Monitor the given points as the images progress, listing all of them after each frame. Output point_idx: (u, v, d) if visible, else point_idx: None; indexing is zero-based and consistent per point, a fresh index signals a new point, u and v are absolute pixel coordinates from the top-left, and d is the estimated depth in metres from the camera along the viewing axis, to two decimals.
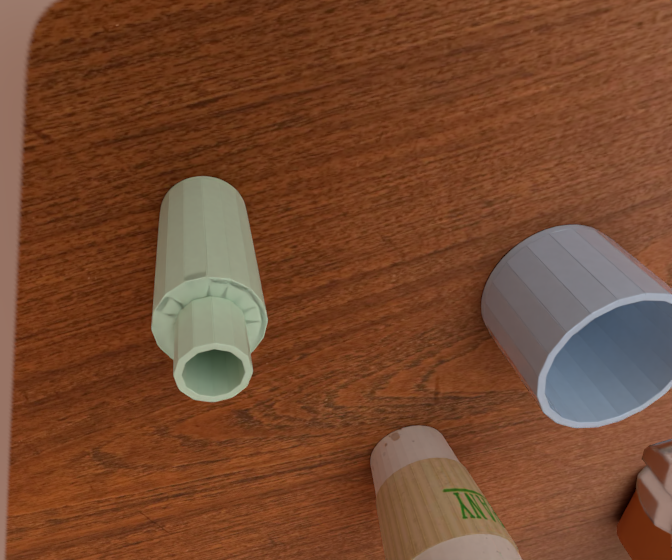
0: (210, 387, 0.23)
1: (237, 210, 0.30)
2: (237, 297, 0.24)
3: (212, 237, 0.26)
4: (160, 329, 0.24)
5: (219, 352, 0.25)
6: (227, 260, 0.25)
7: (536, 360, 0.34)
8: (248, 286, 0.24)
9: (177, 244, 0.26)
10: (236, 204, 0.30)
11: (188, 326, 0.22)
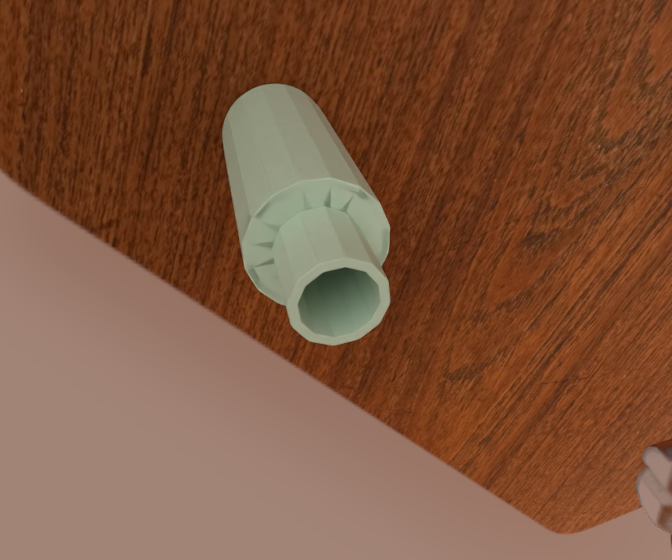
0: (366, 310, 0.17)
1: (269, 105, 0.23)
2: (301, 201, 0.17)
3: (247, 166, 0.20)
4: None
5: None
6: (265, 176, 0.18)
7: None
8: (297, 181, 0.17)
9: (234, 205, 0.21)
10: (267, 100, 0.23)
11: None
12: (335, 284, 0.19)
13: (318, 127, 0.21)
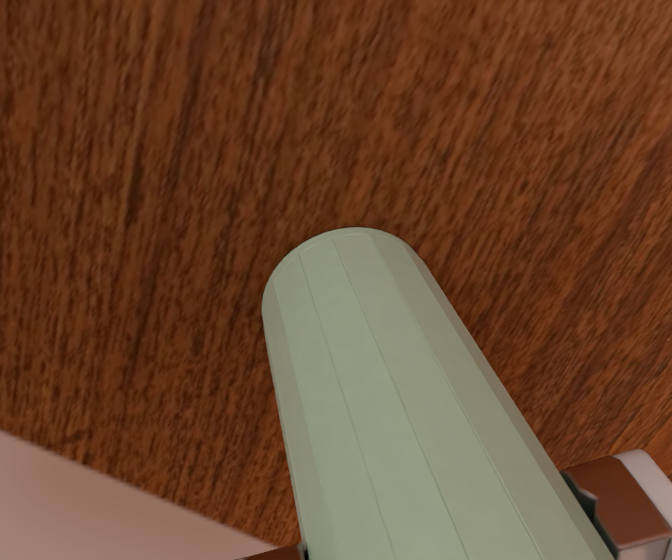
0: None
1: (356, 295, 0.13)
2: None
3: (335, 475, 0.10)
4: None
5: None
6: None
7: None
8: None
9: (302, 531, 0.10)
10: (349, 277, 0.13)
11: None
12: None
13: (461, 360, 0.11)
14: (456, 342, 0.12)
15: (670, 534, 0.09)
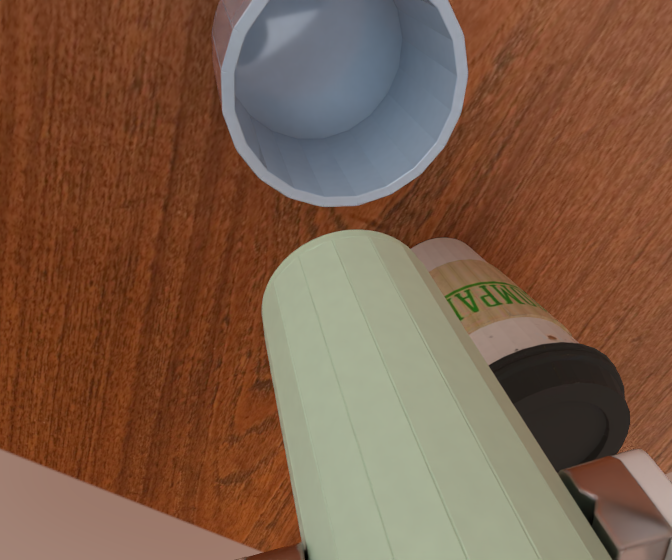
0: None
1: (356, 297, 0.13)
2: None
3: (335, 478, 0.10)
4: None
5: None
6: None
7: None
8: None
9: (302, 533, 0.10)
10: (349, 280, 0.13)
11: None
12: None
13: (461, 363, 0.11)
14: (456, 345, 0.12)
15: (670, 534, 0.09)
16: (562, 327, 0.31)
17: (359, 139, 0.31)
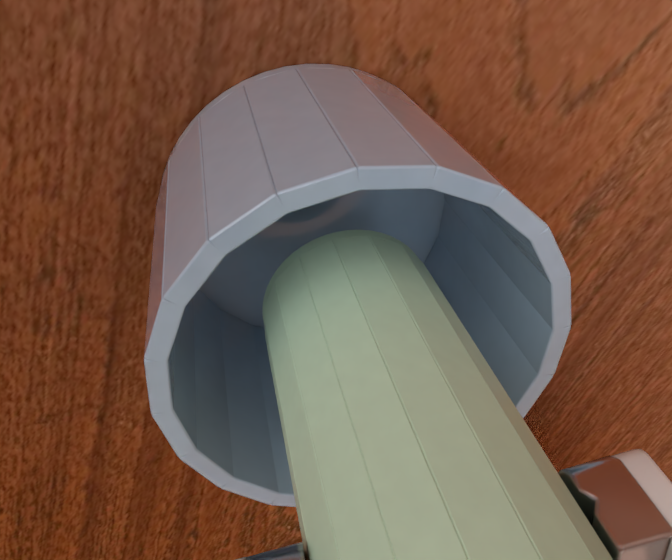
0: None
1: (357, 297, 0.13)
2: None
3: (336, 478, 0.10)
4: None
5: None
6: None
7: None
8: None
9: (303, 533, 0.10)
10: (349, 280, 0.13)
11: None
12: None
13: (461, 363, 0.11)
14: (456, 345, 0.12)
15: (670, 534, 0.09)
16: None
17: None
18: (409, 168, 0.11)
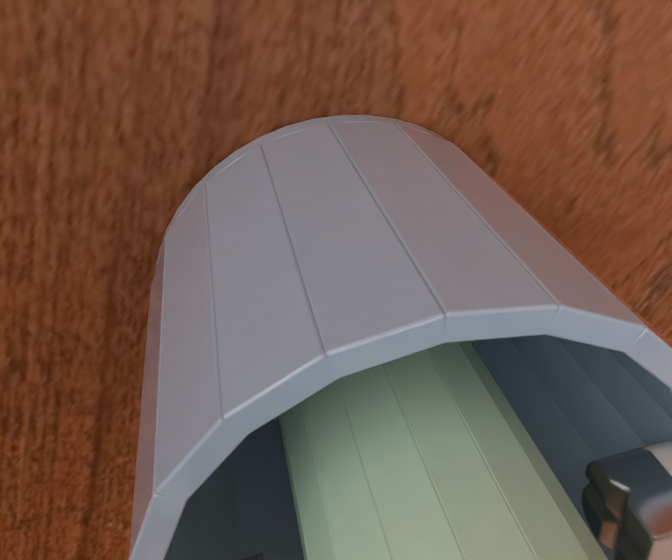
0: None
1: None
2: None
3: (335, 481, 0.10)
4: None
5: None
6: None
7: None
8: None
9: (302, 536, 0.10)
10: None
11: None
12: None
13: (460, 366, 0.11)
14: (455, 348, 0.12)
15: None
16: None
17: None
18: (519, 312, 0.08)
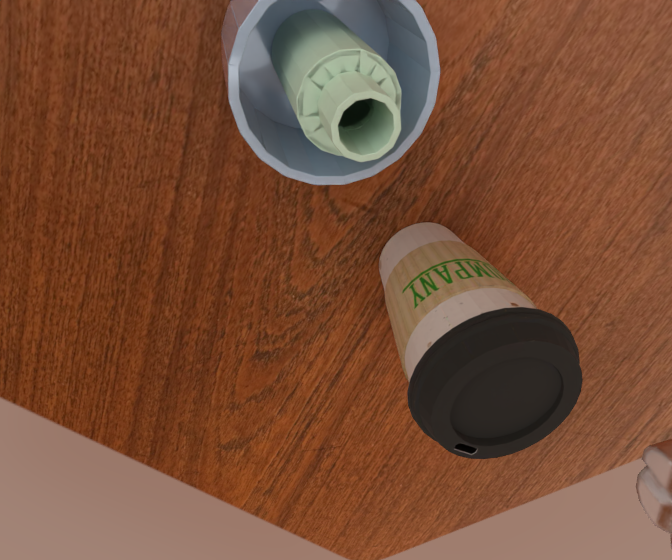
0: (384, 140, 0.24)
1: (311, 19, 0.30)
2: (339, 66, 0.25)
3: (298, 52, 0.27)
4: (325, 143, 0.27)
5: (375, 115, 0.26)
6: (313, 52, 0.26)
7: None
8: (337, 50, 0.25)
9: (286, 84, 0.28)
10: (309, 16, 0.31)
11: (324, 119, 0.24)
12: (361, 132, 0.26)
13: (349, 31, 0.29)
14: (349, 29, 0.29)
15: None
16: (527, 298, 0.34)
17: None
18: None
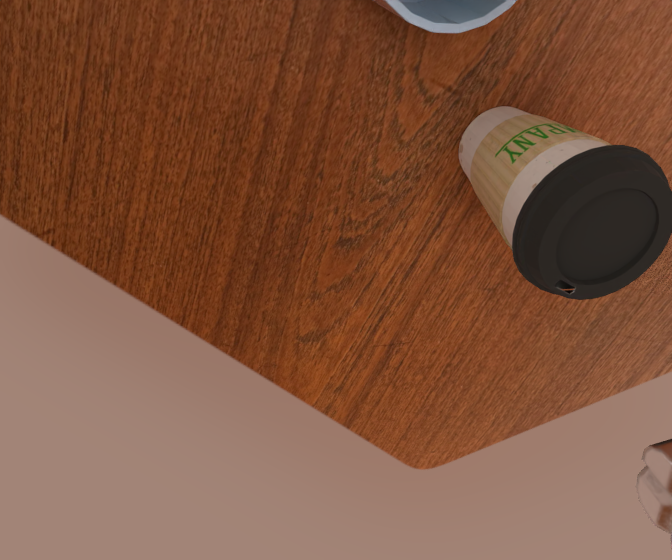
0: None
1: None
2: None
3: None
4: None
5: None
6: None
7: (395, 12, 0.33)
8: None
9: None
10: None
11: None
12: None
13: None
14: None
15: None
16: None
17: None
18: None
